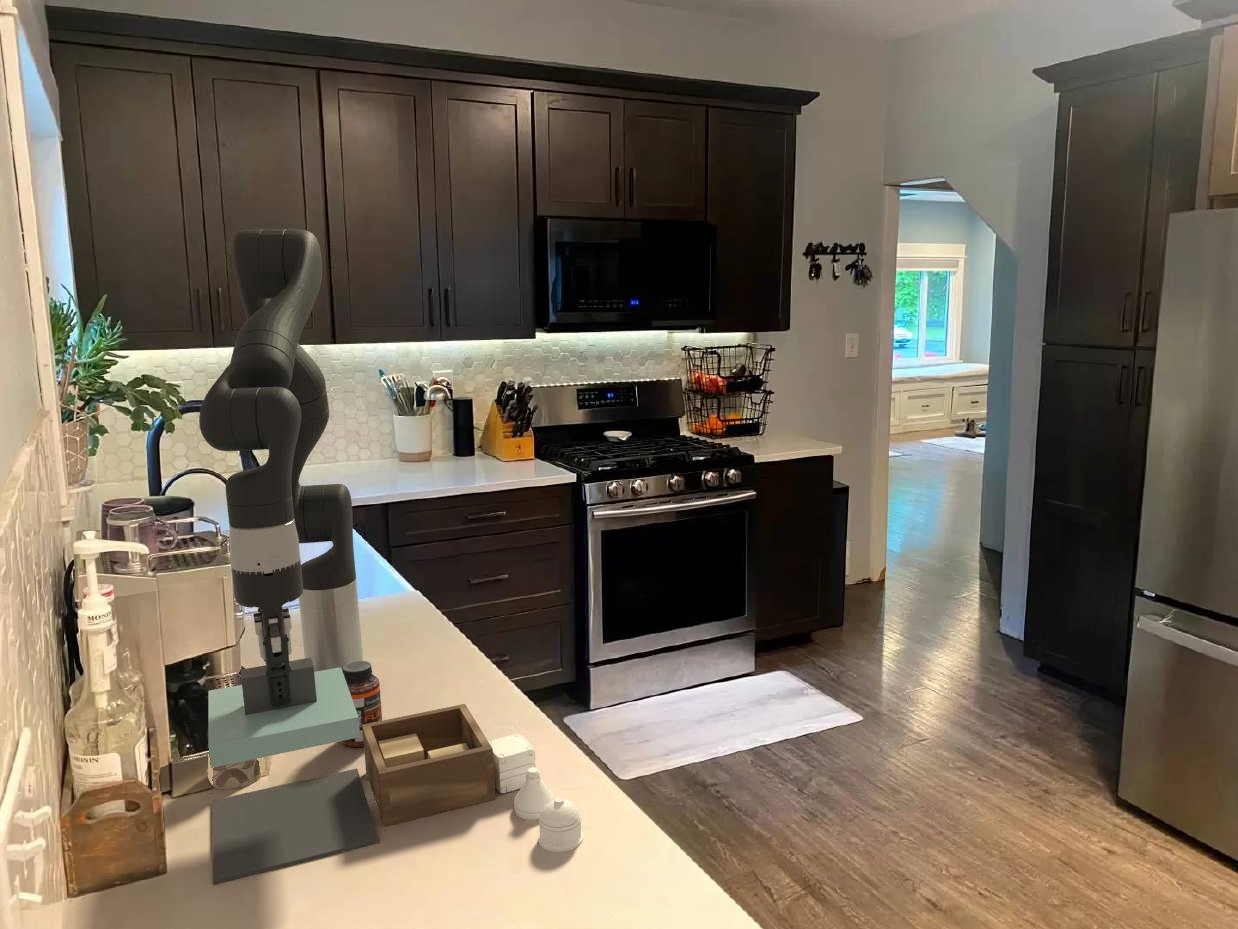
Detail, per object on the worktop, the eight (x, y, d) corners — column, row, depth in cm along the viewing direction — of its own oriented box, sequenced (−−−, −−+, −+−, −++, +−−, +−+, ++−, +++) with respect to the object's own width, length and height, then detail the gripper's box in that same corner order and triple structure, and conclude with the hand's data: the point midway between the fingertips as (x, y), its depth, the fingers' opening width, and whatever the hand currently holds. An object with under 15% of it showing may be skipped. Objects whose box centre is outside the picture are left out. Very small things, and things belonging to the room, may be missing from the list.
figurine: (230, 795, 120) (220, 709, 118) (196, 781, 124) (186, 697, 122) (276, 770, 126) (267, 688, 124) (242, 757, 130) (233, 677, 127)
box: (366, 772, 125) (361, 724, 124) (467, 750, 130) (464, 703, 129) (383, 827, 112) (379, 774, 111) (495, 799, 118) (492, 748, 116)
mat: (212, 803, 118) (212, 800, 118) (357, 771, 125) (357, 768, 125) (213, 884, 102) (213, 881, 102) (379, 842, 109) (379, 839, 109)
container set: (485, 780, 123) (483, 742, 122) (522, 769, 125) (520, 732, 124) (550, 859, 106) (548, 815, 105) (590, 845, 108) (589, 802, 107)
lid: (210, 709, 115) (204, 656, 114) (342, 685, 122) (338, 634, 120) (210, 768, 101) (203, 708, 100) (360, 737, 107) (355, 680, 106)
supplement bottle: (372, 750, 131) (366, 675, 129) (333, 747, 132) (326, 673, 130) (390, 730, 137) (385, 658, 134) (353, 728, 138) (347, 656, 136)
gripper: (229, 549, 112) (244, 682, 116) (232, 581, 100) (248, 730, 103) (295, 541, 115) (307, 671, 118) (305, 571, 103) (319, 716, 106)
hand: (280, 698), depth 111 cm, fingers closed on lid, 3 cm apart
